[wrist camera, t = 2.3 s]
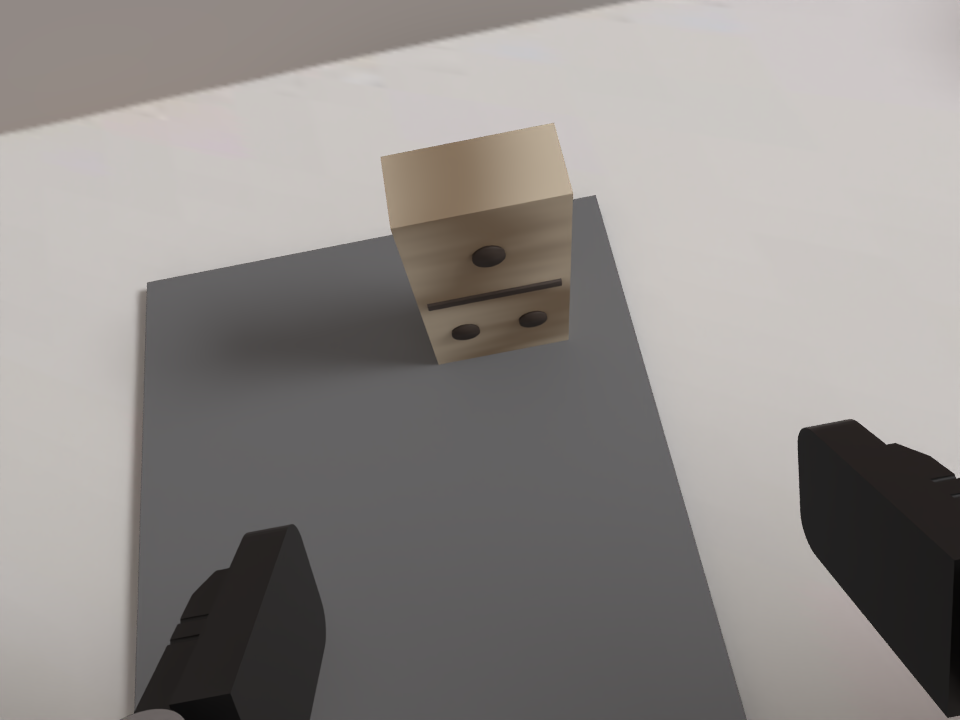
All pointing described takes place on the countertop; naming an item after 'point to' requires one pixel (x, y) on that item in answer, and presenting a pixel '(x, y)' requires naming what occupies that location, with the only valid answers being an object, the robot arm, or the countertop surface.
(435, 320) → the domino
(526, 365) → the mat
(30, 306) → the countertop surface
